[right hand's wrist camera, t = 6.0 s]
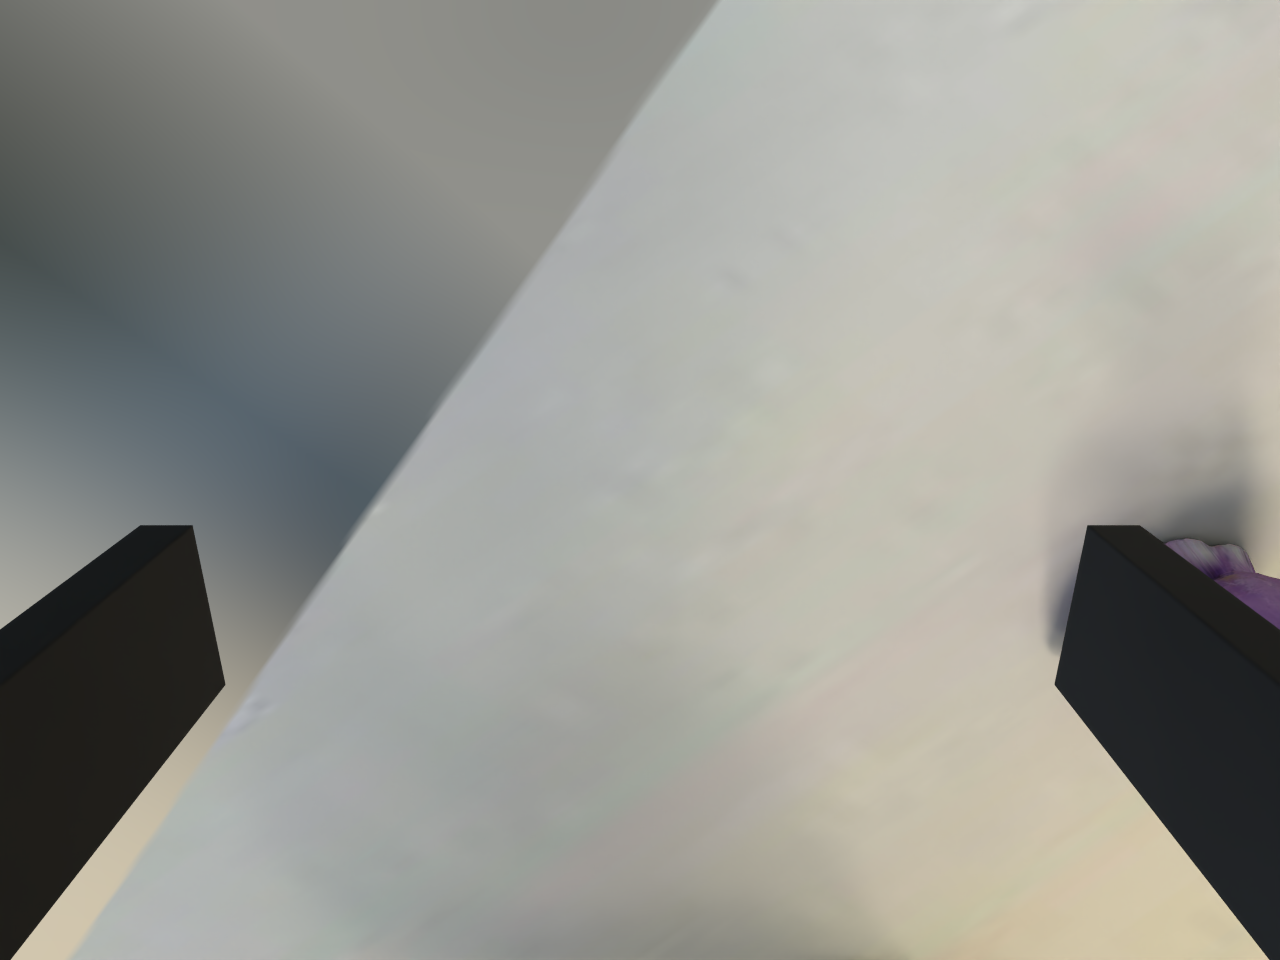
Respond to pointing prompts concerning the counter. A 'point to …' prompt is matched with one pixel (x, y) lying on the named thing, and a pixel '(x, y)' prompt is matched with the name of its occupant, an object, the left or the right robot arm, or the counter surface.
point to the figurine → (1234, 575)
